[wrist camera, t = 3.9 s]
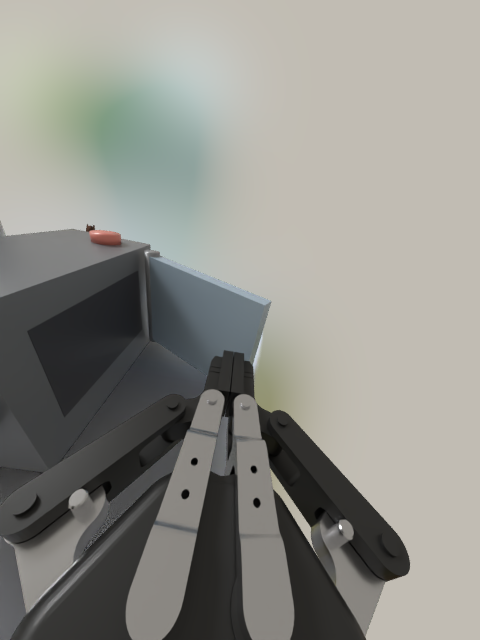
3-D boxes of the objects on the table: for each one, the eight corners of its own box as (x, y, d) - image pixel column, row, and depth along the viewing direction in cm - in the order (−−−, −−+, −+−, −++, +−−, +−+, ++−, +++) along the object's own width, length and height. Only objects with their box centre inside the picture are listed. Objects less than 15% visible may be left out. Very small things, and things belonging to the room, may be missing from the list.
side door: (238, 399, 19) (265, 302, 14) (146, 338, 24) (140, 250, 19) (248, 386, 20) (276, 295, 15) (160, 331, 26) (159, 249, 20)
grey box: (-137, 498, 10) (-606, 259, 4) (94, 325, 26) (70, 220, 20) (20, 515, 11) (-180, 326, 5) (154, 335, 27) (150, 236, 20)
